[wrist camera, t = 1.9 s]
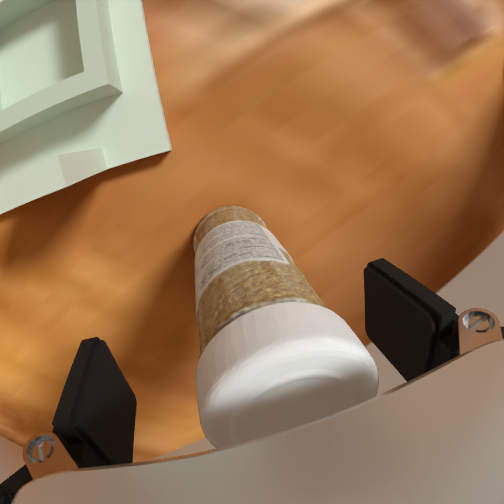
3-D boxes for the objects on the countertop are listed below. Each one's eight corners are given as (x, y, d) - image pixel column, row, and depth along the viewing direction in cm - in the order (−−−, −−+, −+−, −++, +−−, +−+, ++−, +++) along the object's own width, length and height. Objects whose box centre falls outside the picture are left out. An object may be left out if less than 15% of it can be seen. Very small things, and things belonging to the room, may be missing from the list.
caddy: (132, -69, 11) (115, -133, 4) (172, 149, 17) (157, 157, 10) (-24, 4, 10) (-80, -21, 3) (1, 210, 16) (-67, 248, 9)
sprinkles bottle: (268, 272, 20) (363, 449, 8) (195, 278, 20) (211, 479, 7) (267, 200, 19) (403, 327, 6) (189, 205, 18) (185, 361, 6)
